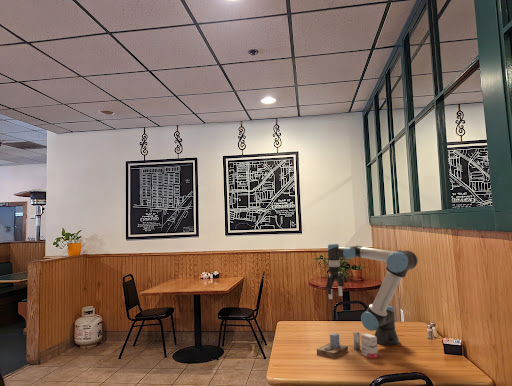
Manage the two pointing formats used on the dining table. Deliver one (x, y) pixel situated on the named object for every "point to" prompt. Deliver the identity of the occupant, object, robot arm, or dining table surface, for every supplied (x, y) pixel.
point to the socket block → (332, 351)
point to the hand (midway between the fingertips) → (335, 297)
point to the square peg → (334, 340)
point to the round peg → (356, 340)
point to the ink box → (369, 345)
